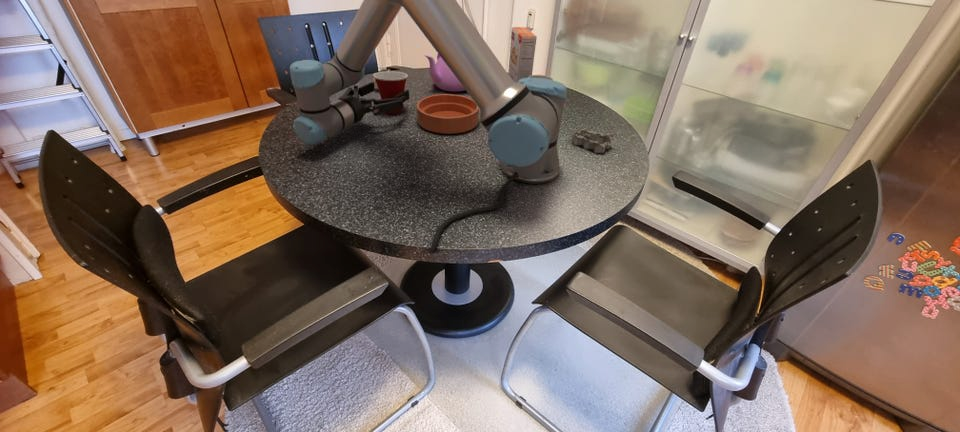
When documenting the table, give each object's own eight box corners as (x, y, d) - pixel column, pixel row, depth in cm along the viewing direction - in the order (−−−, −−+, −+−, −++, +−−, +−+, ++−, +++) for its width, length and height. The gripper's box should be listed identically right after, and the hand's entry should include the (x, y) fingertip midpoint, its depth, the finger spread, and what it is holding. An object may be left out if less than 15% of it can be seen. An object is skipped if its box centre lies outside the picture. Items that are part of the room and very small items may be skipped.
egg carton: (612, 147, 110) (616, 135, 108) (599, 155, 106) (603, 143, 103) (581, 135, 116) (584, 123, 113) (568, 142, 111) (571, 130, 109)
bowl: (468, 139, 110) (468, 122, 106) (407, 129, 113) (406, 112, 110) (485, 115, 125) (485, 99, 121) (431, 106, 128) (430, 90, 125)
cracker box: (506, 82, 152) (511, 26, 139) (520, 82, 153) (526, 26, 140) (514, 95, 141) (521, 35, 128) (530, 94, 142) (537, 35, 129)
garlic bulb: (382, 94, 135) (380, 72, 130) (371, 90, 138) (368, 67, 133) (396, 89, 139) (394, 68, 134) (384, 85, 142) (382, 64, 137)
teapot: (410, 85, 144) (407, 47, 136) (454, 75, 156) (454, 40, 147) (445, 102, 132) (444, 62, 123) (489, 90, 144) (491, 52, 135)
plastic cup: (413, 105, 128) (411, 70, 121) (405, 118, 120) (402, 80, 112) (383, 103, 129) (379, 67, 121) (372, 115, 120) (367, 77, 113)
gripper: (314, 115, 110) (361, 94, 126) (382, 135, 103) (423, 109, 118) (308, 90, 106) (357, 71, 121) (379, 108, 98) (422, 85, 113)
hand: (390, 90), depth 120 cm, fingers open, 13 cm apart
